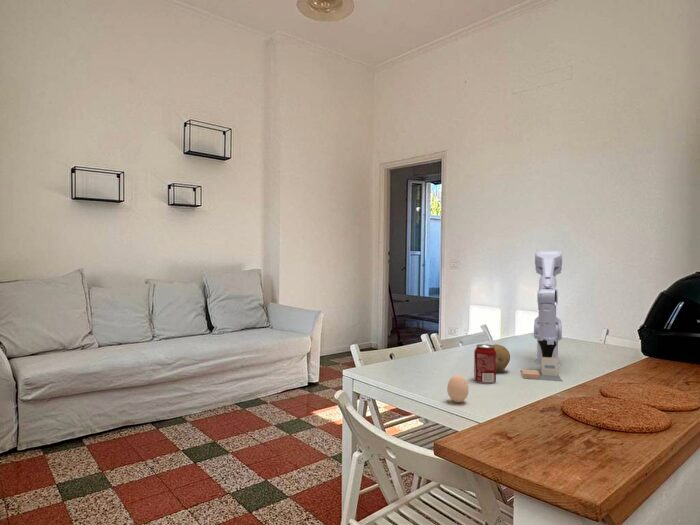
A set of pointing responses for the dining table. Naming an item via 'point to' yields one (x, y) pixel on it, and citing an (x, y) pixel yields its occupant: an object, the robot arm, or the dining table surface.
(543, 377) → the mat
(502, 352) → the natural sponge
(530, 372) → the tile
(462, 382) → the egg
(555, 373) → the tile
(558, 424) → the dining table surface
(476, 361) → the soda can
